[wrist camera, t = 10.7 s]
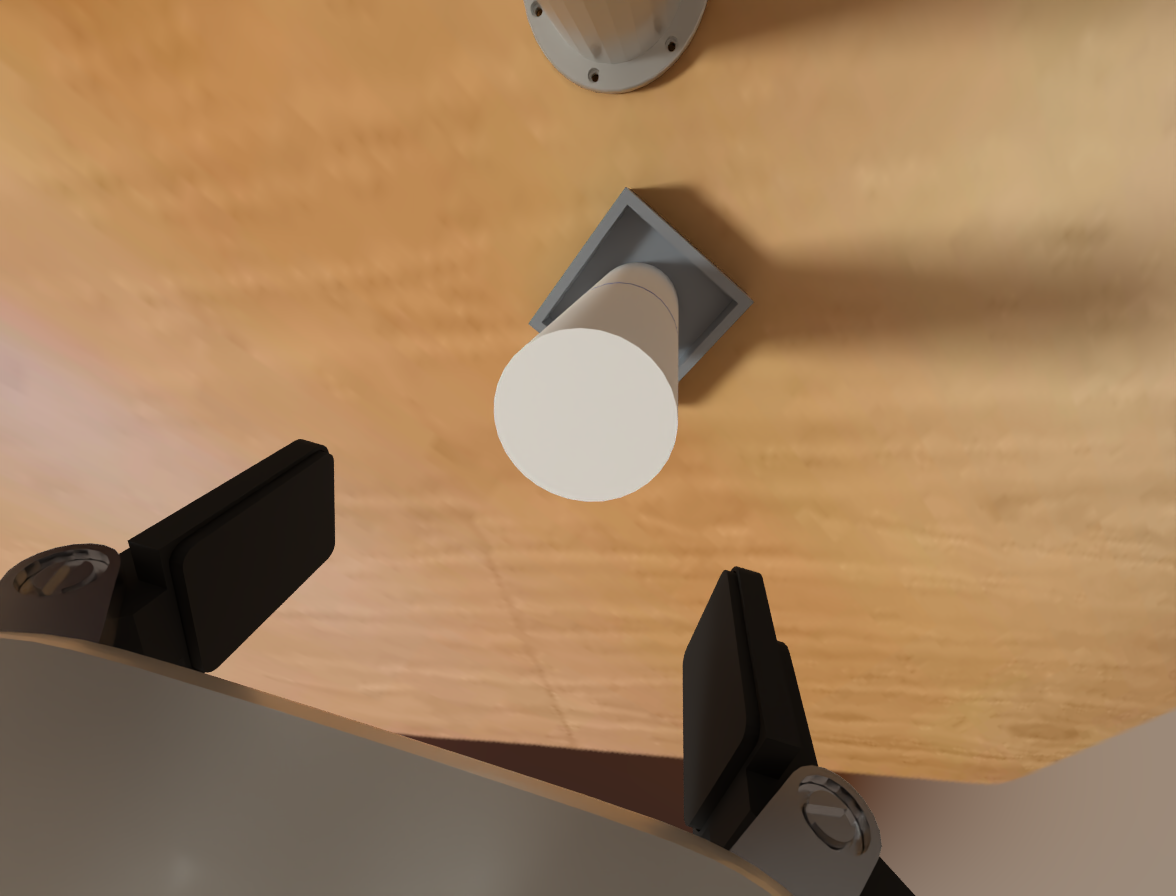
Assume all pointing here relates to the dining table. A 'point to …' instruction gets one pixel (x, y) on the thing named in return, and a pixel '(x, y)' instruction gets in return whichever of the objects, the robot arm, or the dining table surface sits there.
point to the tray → (650, 239)
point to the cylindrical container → (597, 390)
